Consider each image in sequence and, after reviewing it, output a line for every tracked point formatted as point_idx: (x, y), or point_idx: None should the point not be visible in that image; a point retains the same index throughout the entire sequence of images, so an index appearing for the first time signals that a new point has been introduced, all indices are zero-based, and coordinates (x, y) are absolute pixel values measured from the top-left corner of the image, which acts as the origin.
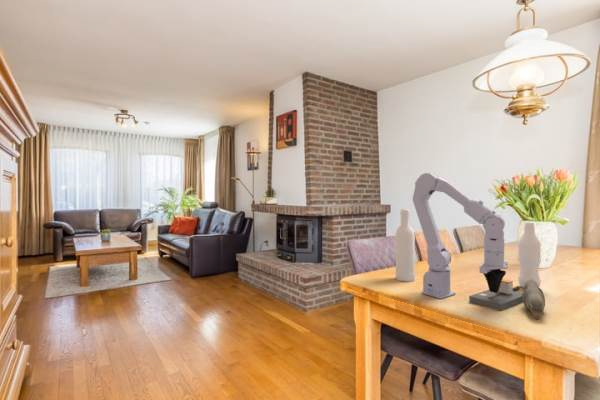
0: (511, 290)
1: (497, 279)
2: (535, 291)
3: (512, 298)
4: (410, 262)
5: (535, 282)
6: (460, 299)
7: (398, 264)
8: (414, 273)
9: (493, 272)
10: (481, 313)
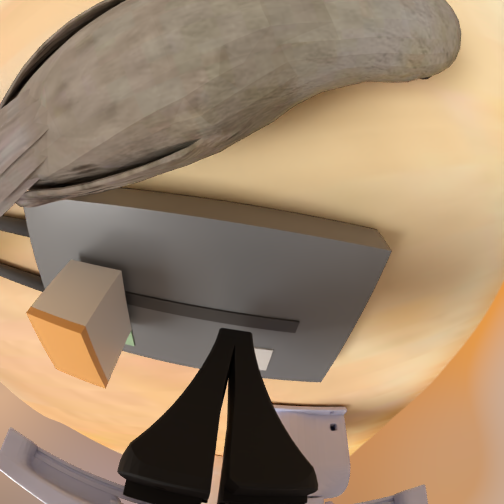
0: (75, 272)
1: (286, 432)
2: (252, 2)
3: (174, 229)
4: (215, 502)
5: None
6: (302, 381)
7: None
8: None
9: (303, 501)
10: (452, 283)
